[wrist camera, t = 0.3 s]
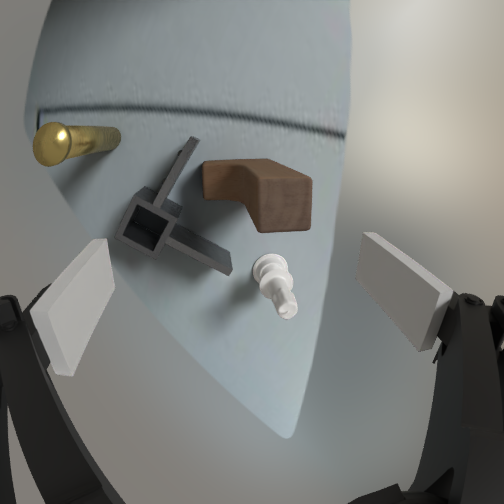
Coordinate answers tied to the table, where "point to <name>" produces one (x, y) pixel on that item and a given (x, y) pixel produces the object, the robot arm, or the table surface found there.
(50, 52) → the table surface
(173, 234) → the square tube bracket
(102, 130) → the hinge pin
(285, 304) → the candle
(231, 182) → the wooden block
